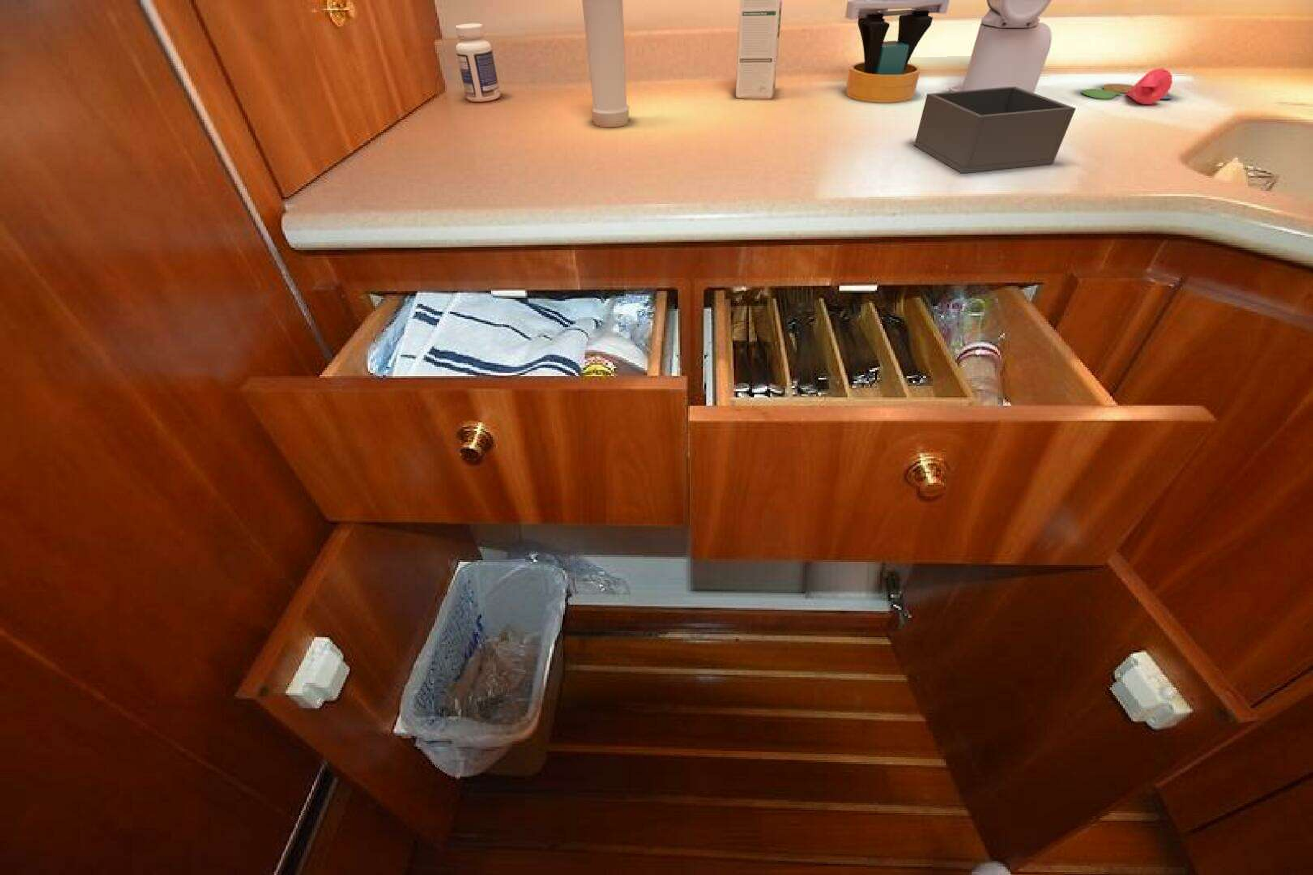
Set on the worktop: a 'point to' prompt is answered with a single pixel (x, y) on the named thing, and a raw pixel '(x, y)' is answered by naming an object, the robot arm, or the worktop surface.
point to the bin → (992, 128)
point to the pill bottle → (476, 64)
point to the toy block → (892, 58)
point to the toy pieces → (1138, 88)
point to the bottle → (606, 61)
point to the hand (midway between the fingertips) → (883, 74)
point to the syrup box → (757, 48)
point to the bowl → (882, 84)
